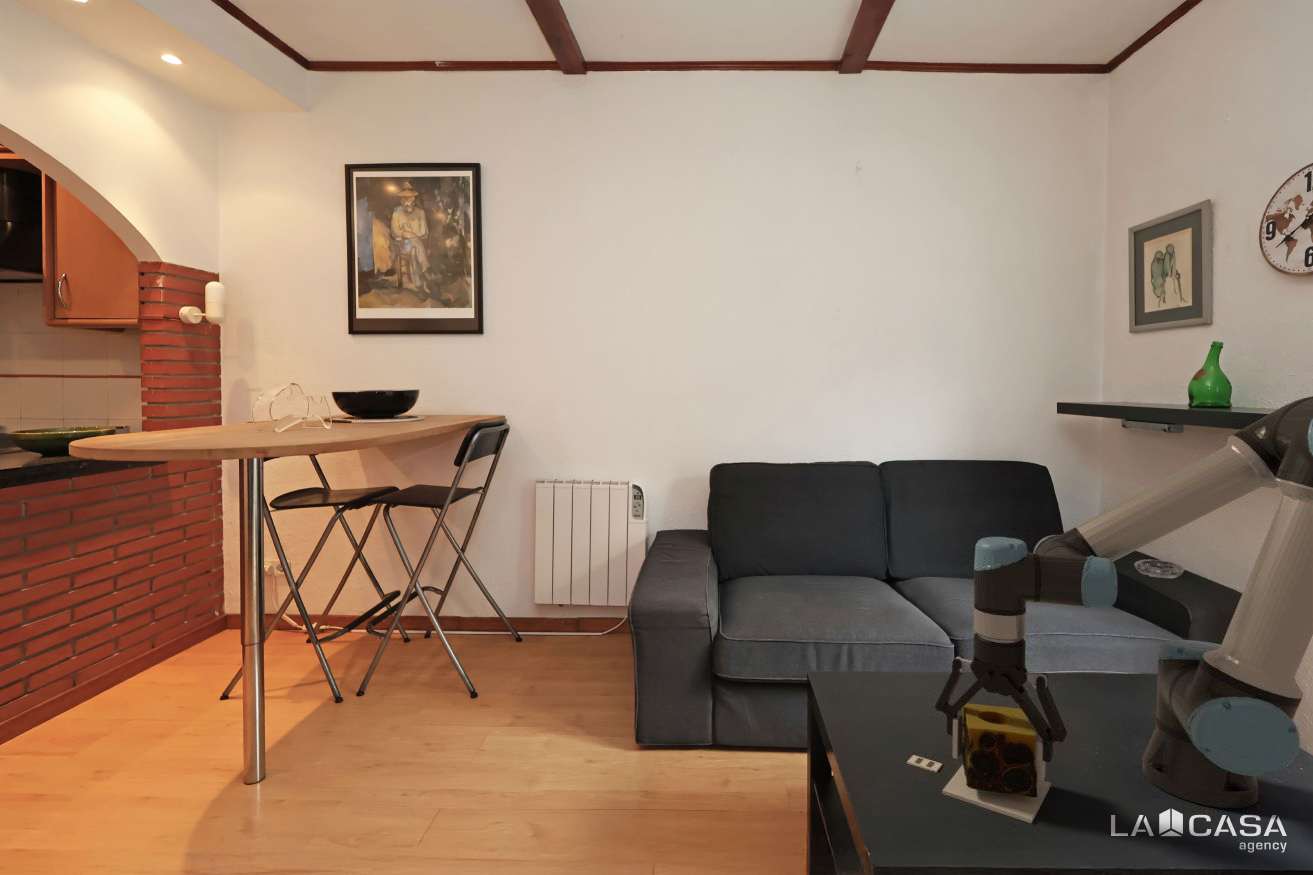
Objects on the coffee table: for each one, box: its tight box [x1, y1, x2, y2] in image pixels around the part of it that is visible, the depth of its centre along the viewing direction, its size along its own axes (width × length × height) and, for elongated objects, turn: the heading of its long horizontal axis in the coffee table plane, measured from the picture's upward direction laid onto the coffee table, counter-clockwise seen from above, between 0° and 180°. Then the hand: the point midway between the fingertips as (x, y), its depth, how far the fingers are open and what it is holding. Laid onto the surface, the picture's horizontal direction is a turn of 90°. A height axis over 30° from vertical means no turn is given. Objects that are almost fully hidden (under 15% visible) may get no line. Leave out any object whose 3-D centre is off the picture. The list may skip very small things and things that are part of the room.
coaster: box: [942, 764, 1052, 824], centre depth 118 cm, size 13×13×1 cm
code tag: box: [906, 754, 943, 773], centre depth 126 cm, size 5×3×1 cm, turn 51°
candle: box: [961, 702, 1037, 798], centre depth 118 cm, size 10×10×10 cm
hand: (997, 766), depth 118 cm, fingers closed on candle, 12 cm apart
